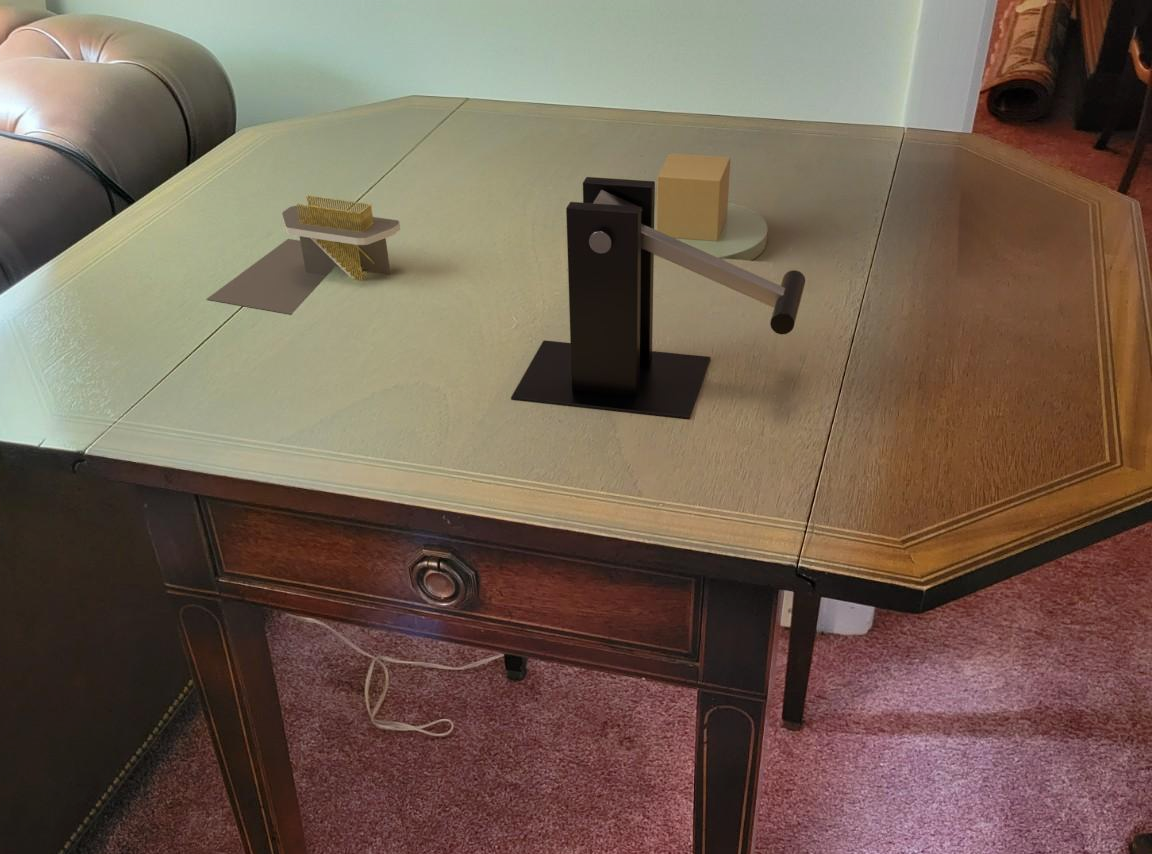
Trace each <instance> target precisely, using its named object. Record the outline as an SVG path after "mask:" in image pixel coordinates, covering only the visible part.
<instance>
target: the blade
mask: <svg viewBox="0 0 1152 854" xmlns="http://www.w3.org/2000/svg"><path fill="white" fill-rule="evenodd" d="M594 203H595V204H609V205H623V206H637V205H635V204H633V203H630V202H628V201H626V200H624V199H621V198H619V197H617V196H615V195H612V194H610V193H608V192H606V191H603V190H601V191H600V193H599V194H598V196H597V198H596V199H595V201H594ZM637 207H639V206H637ZM641 211H642V208H641ZM641 248H642V249H644V250H646V251H648V252H651V253H653V254H655V255H657V256H660V257H662V258H661V259H664V260H666V261H669V262H671V263H673V264H675V265H677V266H680V267H682V268H684V269H687V270H689V271H691V272H693V273H695V274H698V275H700V276H702V277H704V278H707V279H709V280H710V281H713V282H716V283H718V284H720V285H722V286H725V287H726V288H729V289H731V290H734V291H736V292H738V293H740V294H742V295H745V296H747V297H750V298H751V299H754V300H755V301H758V302H760V303H763V304H765V305H766V306H769V307H771V308H773V310H772V313H771V314H772V315H771V318H770V322H769V325H770V328H771V330H772V331H773V332H774V333H776V334H778V335H787V334H789V333H790V332H792V331H793V329H794V328H795V325H796V320H797V317H798V313H799V309H800V304H801V301H802V297H803V293H804V290H805V287H806V286H805V285H806V277H805V275H804V274H803V273H802V272H801V271H799V270H794V269H793V270H789V271H787V272H786V273H785V274H784V275H783V276H782V280H781V284H777V283H775V282H773V281H771V280H769V279H766V278H764V277H762V276H759V275H758V274H755V273H753V272H750V271H748V270H747V269H744V268H742V267H740V266H737V265H735V264H733V263H731V262H729V261H726V260H724V259H719V258H717V257H715V256H713V255H711V254H708V253H706V252H704V251H702V250H699V249H697V248H695V247H693V246H690V245H688V244H686V243H684V242H681V241H679V240H677V239H675V238H673V237H670V236H668V235H666V234H664V233H661V232H659V231H657V230H655V229H652V228H650V227H648V226H646V225H643V224H641ZM660 257H659V258H660Z"/></svg>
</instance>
